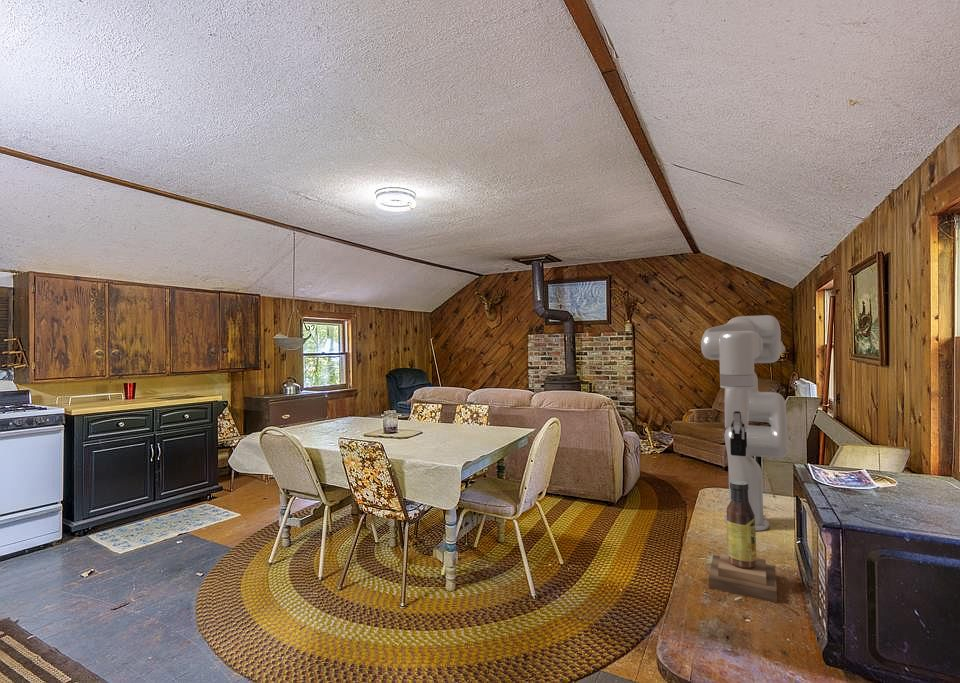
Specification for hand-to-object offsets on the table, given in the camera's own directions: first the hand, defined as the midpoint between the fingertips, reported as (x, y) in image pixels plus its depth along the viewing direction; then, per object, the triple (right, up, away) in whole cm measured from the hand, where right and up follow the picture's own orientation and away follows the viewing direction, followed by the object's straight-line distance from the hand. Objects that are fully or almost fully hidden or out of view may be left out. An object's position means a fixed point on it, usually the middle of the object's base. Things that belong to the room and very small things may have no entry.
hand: (739, 451), depth 119 cm
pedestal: (+1, -32, 0) cm, 32 cm away
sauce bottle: (+1, -28, 0) cm, 28 cm away
